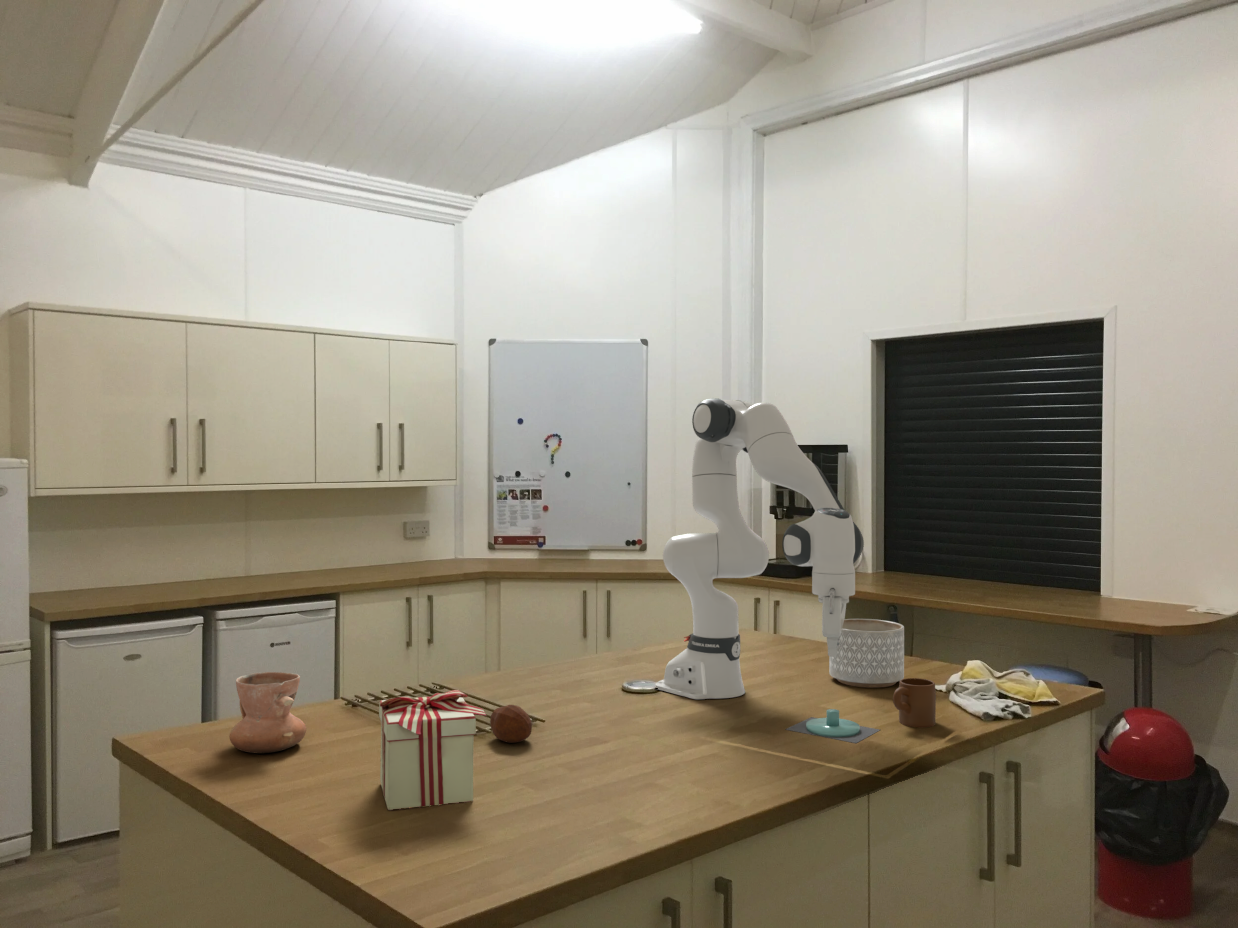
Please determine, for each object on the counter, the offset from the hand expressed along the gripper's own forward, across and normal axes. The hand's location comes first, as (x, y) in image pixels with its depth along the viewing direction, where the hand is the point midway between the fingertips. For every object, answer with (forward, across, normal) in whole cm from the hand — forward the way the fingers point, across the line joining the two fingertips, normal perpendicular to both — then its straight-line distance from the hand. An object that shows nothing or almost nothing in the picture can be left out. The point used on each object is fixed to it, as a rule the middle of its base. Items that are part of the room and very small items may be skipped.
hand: (833, 651), depth 208 cm
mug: (+17, +9, -16) cm, 25 cm away
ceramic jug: (+17, -39, +110) cm, 117 cm away
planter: (+17, +50, -6) cm, 53 cm away
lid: (+16, 0, 0) cm, 17 cm away
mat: (+17, 0, 0) cm, 17 cm away
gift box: (+18, -55, +66) cm, 88 cm away
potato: (+17, -23, +63) cm, 69 cm away
